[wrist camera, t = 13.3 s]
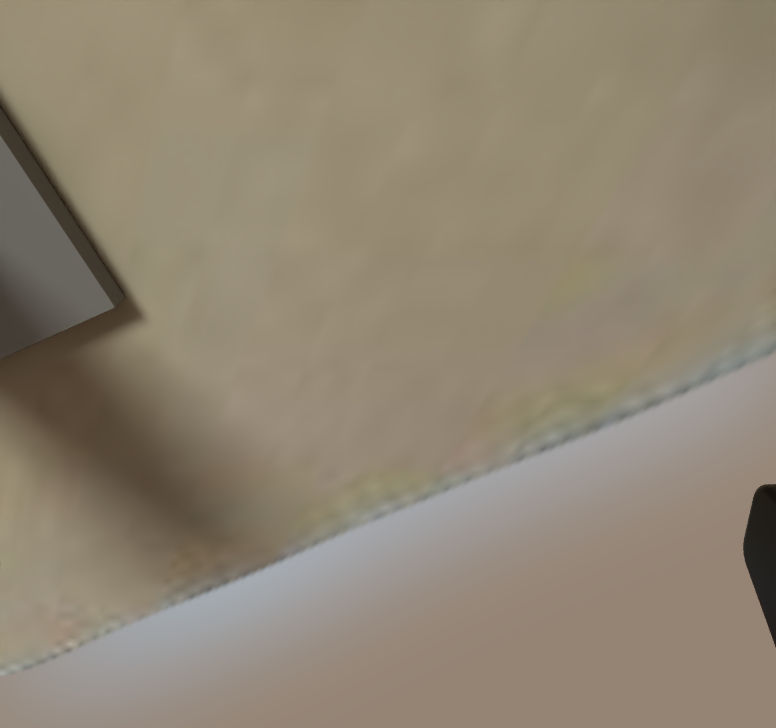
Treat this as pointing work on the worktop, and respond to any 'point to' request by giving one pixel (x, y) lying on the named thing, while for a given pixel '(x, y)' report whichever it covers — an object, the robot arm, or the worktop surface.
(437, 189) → the worktop surface
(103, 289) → the gray base plate
